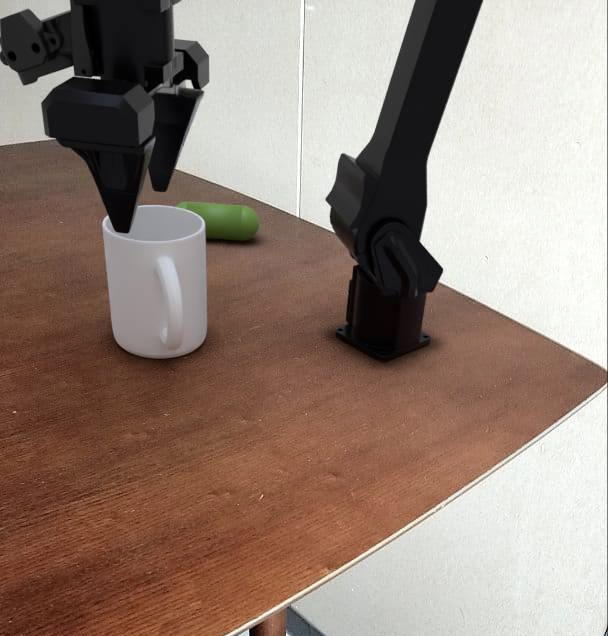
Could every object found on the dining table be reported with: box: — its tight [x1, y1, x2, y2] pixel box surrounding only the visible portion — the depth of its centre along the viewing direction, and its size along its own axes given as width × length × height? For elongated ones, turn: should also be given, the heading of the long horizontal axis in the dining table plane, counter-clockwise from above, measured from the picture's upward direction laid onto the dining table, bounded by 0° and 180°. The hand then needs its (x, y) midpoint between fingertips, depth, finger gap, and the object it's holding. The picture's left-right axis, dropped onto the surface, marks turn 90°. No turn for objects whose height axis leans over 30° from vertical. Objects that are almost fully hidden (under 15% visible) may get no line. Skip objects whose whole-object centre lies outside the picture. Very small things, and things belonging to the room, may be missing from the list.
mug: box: [101, 204, 208, 359], centre depth 72 cm, size 12×8×10 cm
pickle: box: [175, 200, 260, 242], centre depth 94 cm, size 10×4×4 cm, turn 86°
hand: (142, 210), depth 66 cm, fingers open, 9 cm apart
